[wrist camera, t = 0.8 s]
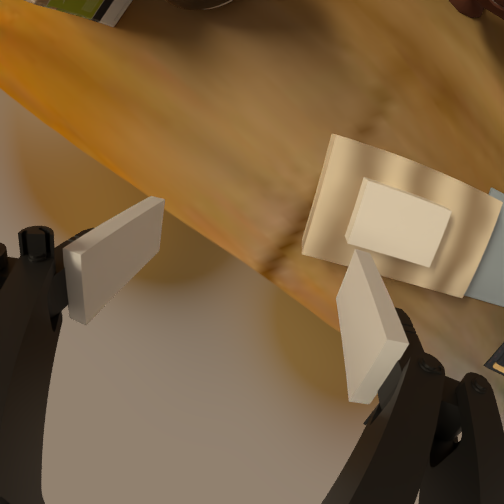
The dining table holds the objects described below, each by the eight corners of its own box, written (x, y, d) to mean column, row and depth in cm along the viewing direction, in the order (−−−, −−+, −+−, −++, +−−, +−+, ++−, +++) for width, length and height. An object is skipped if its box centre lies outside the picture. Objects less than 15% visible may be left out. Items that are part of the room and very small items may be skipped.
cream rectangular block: (443, 205, 27) (451, 211, 25) (422, 259, 29) (429, 267, 27) (363, 176, 27) (367, 180, 25) (344, 235, 29) (347, 243, 28)
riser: (485, 193, 29) (503, 202, 25) (450, 282, 34) (462, 298, 30) (331, 133, 30) (336, 134, 26) (301, 239, 34) (301, 254, 31)
